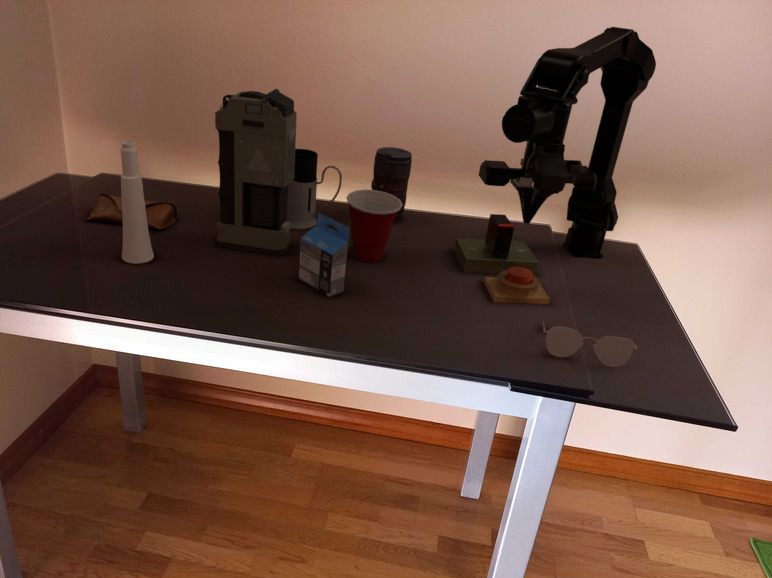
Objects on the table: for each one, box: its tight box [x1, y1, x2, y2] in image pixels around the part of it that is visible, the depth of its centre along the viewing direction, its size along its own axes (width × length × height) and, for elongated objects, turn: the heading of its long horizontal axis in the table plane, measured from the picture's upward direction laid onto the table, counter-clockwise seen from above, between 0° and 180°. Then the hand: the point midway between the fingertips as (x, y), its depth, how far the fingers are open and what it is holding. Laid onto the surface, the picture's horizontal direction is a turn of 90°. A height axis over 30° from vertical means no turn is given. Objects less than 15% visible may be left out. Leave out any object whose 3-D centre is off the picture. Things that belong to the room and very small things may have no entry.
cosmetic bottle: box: [120, 140, 155, 265], centre depth 128 cm, size 6×6×22 cm
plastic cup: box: [346, 189, 403, 263], centre depth 136 cm, size 11×11×12 cm
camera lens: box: [370, 146, 413, 223], centre depth 154 cm, size 8×8×15 cm
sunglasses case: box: [85, 192, 178, 231], centre depth 149 cm, size 18×7×7 cm, turn 78°
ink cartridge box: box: [298, 212, 351, 297], centre depth 124 cm, size 9×4×12 cm, turn 40°
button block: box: [483, 270, 551, 305], centre depth 128 cm, size 10×8×3 cm
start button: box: [506, 267, 534, 285], centre depth 126 cm, size 4×4×2 cm
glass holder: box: [287, 148, 343, 230], centre depth 149 cm, size 9×14×15 cm, turn 64°
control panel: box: [453, 238, 539, 276], centre depth 138 cm, size 14×11×3 cm
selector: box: [484, 213, 515, 257], centre depth 136 cm, size 7×3×6 cm, turn 0°
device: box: [214, 88, 298, 256], centre depth 133 cm, size 14×8×30 cm, turn 74°
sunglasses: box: [542, 321, 638, 368], centre depth 112 cm, size 14×8×5 cm, turn 73°
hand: (526, 223), depth 123 cm, fingers closed
